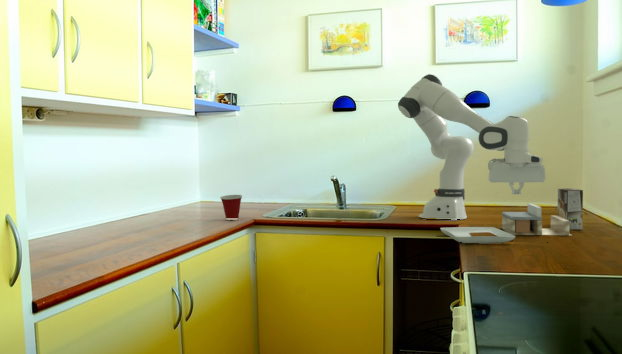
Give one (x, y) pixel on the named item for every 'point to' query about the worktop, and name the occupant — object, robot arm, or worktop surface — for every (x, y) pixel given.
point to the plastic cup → (231, 205)
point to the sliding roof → (525, 214)
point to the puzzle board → (539, 226)
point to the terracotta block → (522, 226)
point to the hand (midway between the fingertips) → (516, 194)
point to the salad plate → (465, 237)
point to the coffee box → (571, 206)
